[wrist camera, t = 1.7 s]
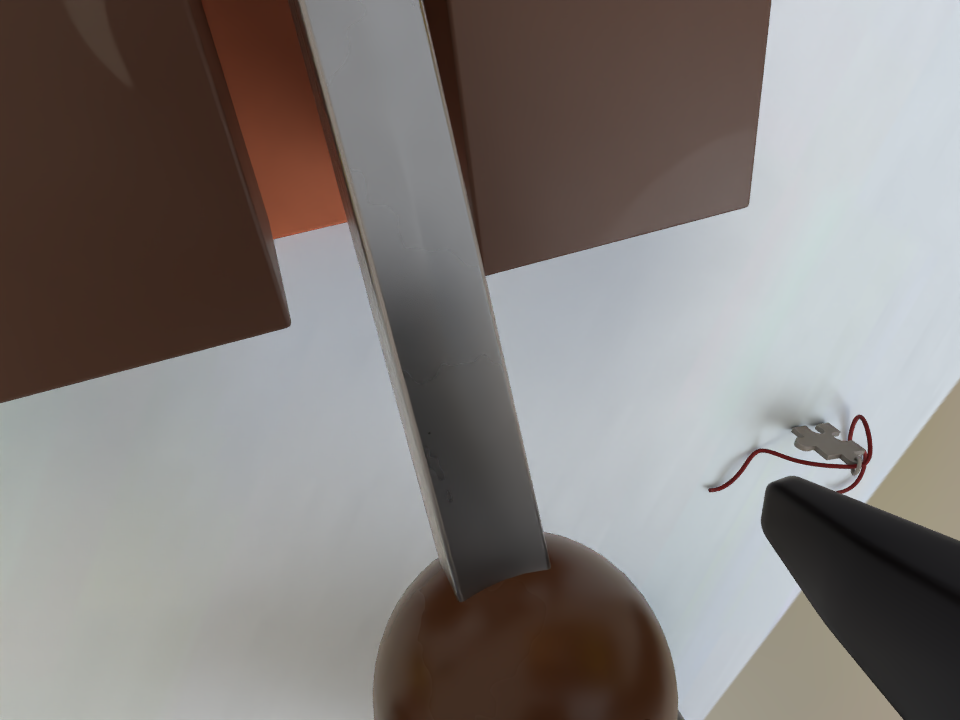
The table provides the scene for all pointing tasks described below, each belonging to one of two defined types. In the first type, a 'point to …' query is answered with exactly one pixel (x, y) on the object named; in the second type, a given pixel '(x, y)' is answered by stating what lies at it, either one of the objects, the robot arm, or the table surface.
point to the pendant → (823, 450)
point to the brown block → (306, 161)
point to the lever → (462, 416)
